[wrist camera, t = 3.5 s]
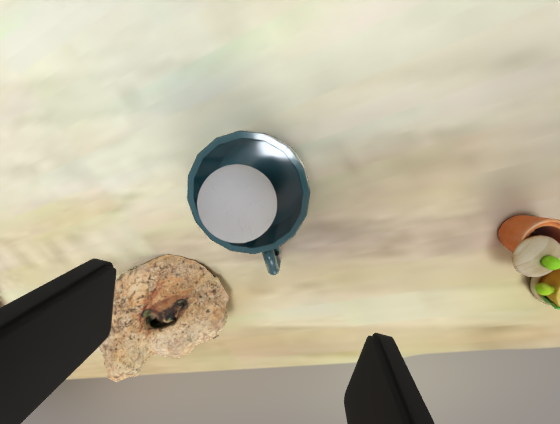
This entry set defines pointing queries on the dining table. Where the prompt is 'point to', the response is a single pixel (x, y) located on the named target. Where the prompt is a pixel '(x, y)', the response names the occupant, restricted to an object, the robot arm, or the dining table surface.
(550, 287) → the toy tea set
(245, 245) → the mug
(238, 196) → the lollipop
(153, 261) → the tan irregular piece
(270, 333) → the dining table surface
